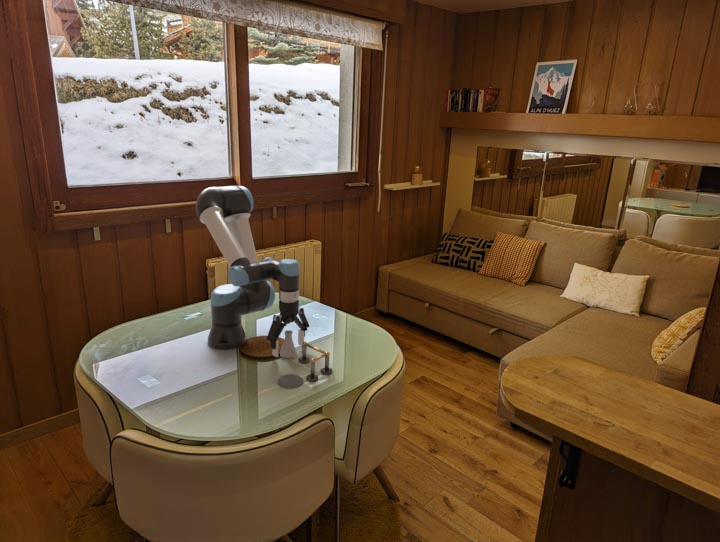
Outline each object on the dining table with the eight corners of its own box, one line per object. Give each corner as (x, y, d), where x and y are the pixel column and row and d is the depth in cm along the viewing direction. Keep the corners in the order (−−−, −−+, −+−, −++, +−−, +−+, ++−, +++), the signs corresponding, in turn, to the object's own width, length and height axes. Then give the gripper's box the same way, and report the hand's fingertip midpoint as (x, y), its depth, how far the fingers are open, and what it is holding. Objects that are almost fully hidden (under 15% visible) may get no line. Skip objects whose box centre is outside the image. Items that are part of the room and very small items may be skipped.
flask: (293, 360, 192) (294, 336, 189) (276, 357, 193) (276, 334, 190) (299, 352, 199) (300, 329, 196) (282, 349, 200) (282, 326, 197)
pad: (272, 381, 175) (272, 380, 175) (291, 372, 182) (291, 371, 182) (289, 391, 170) (289, 390, 170) (308, 381, 177) (308, 380, 177)
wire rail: (281, 367, 186) (281, 347, 183) (304, 357, 195) (304, 338, 192) (312, 383, 176) (312, 362, 174) (334, 371, 185) (335, 351, 182)
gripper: (270, 310, 177) (270, 363, 183) (318, 294, 196) (317, 343, 202) (256, 305, 182) (257, 357, 188) (305, 290, 200) (304, 338, 207)
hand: (288, 350), depth 195 cm, fingers open, 13 cm apart
